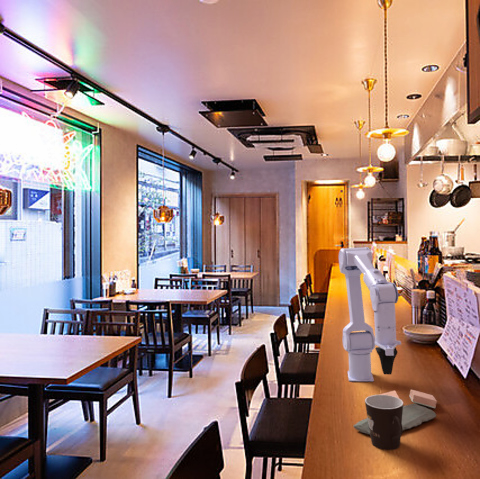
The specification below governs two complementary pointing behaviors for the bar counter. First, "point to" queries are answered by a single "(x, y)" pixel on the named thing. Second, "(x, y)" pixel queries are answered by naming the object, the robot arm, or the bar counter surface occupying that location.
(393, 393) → the cream tile
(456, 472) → the bar counter surface
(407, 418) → the stone slab
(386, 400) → the coffee mug
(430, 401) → the pink flat block
